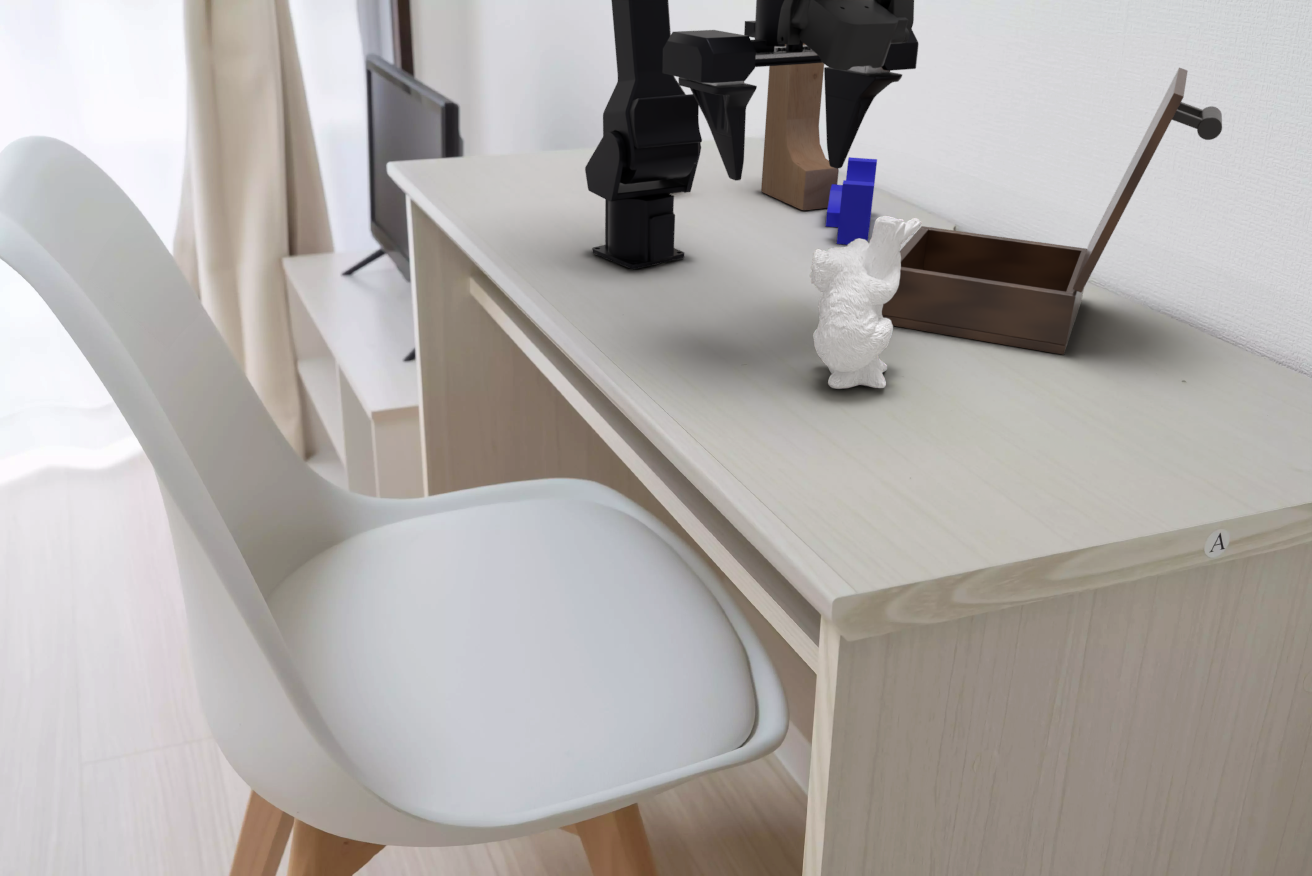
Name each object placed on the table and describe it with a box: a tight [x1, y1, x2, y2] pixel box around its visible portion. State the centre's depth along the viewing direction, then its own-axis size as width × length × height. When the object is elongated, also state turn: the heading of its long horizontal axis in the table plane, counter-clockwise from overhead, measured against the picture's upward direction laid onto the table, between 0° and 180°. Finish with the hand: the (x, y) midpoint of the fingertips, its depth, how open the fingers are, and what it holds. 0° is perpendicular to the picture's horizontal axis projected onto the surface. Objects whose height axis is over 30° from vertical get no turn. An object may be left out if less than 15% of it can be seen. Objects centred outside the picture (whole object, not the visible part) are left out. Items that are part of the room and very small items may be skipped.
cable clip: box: [825, 157, 878, 246], centre depth 116 cm, size 12×4×6 cm, turn 168°
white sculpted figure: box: [809, 215, 923, 390], centre depth 78 cm, size 8×7×12 cm
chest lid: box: [1073, 67, 1223, 292], centre depth 86 cm, size 15×14×4 cm
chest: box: [882, 225, 1087, 355], centre depth 94 cm, size 15×14×5 cm
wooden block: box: [760, 43, 840, 211], centre depth 123 cm, size 9×4×18 cm, turn 26°
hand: (786, 173), depth 83 cm, fingers open, 9 cm apart
